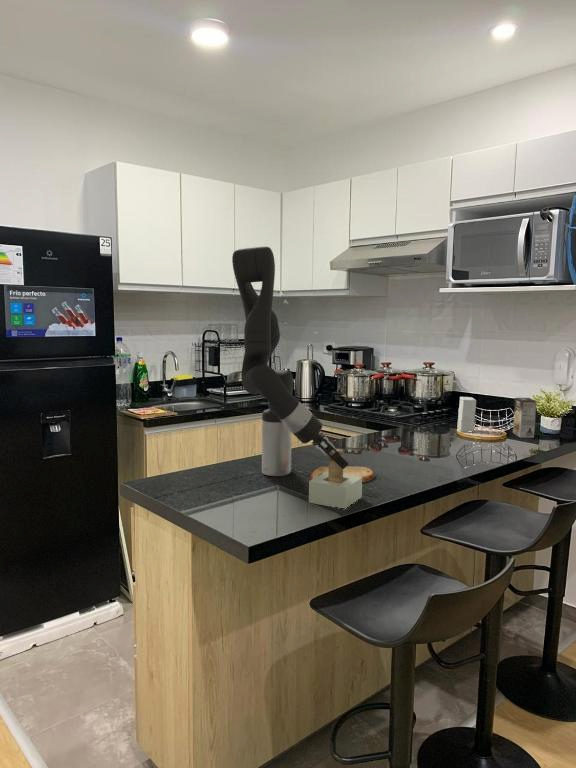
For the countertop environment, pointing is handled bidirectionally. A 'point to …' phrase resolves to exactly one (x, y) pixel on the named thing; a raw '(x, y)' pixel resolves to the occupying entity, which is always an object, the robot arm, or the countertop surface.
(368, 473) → the slice of bread
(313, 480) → the holder
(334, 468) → the dowel
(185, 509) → the countertop surface
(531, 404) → the coffee box
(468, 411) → the skincare box
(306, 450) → the countertop surface
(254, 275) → the robot arm
